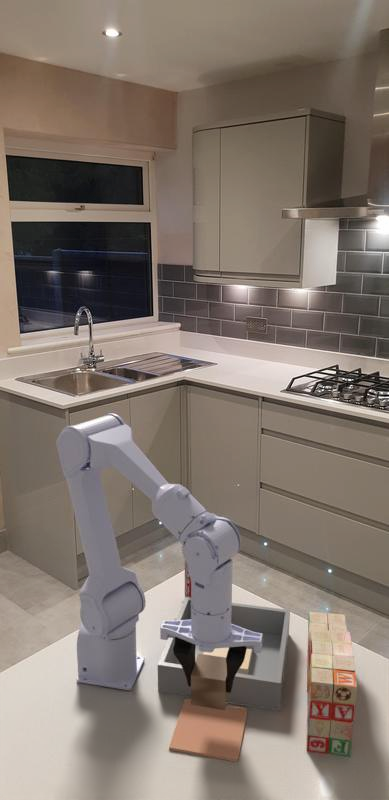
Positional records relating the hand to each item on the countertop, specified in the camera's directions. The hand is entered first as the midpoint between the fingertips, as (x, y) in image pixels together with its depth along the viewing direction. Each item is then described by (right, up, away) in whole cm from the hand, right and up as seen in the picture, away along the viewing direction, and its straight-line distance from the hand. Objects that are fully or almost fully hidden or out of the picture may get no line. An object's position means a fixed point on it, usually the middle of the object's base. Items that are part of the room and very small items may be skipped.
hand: (210, 684), depth 94 cm
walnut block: (0, -2, +1) cm, 2 cm away
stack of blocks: (+19, -6, +8) cm, 21 cm away
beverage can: (-1, +1, +33) cm, 33 cm away
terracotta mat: (0, -8, +2) cm, 8 cm away
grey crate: (+3, -4, +17) cm, 18 cm away
